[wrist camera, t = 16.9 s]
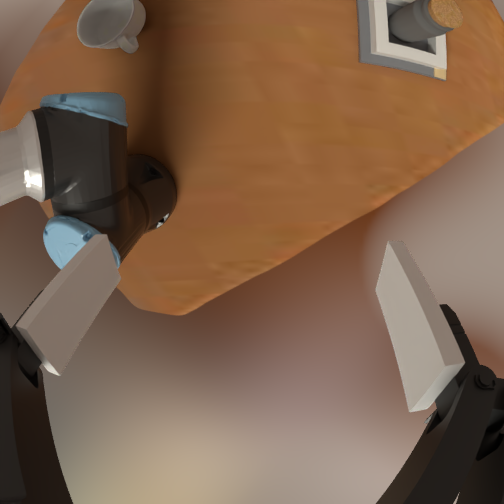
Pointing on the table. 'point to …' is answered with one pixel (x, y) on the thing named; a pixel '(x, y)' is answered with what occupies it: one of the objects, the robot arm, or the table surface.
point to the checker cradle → (396, 42)
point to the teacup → (111, 24)
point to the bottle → (424, 20)
